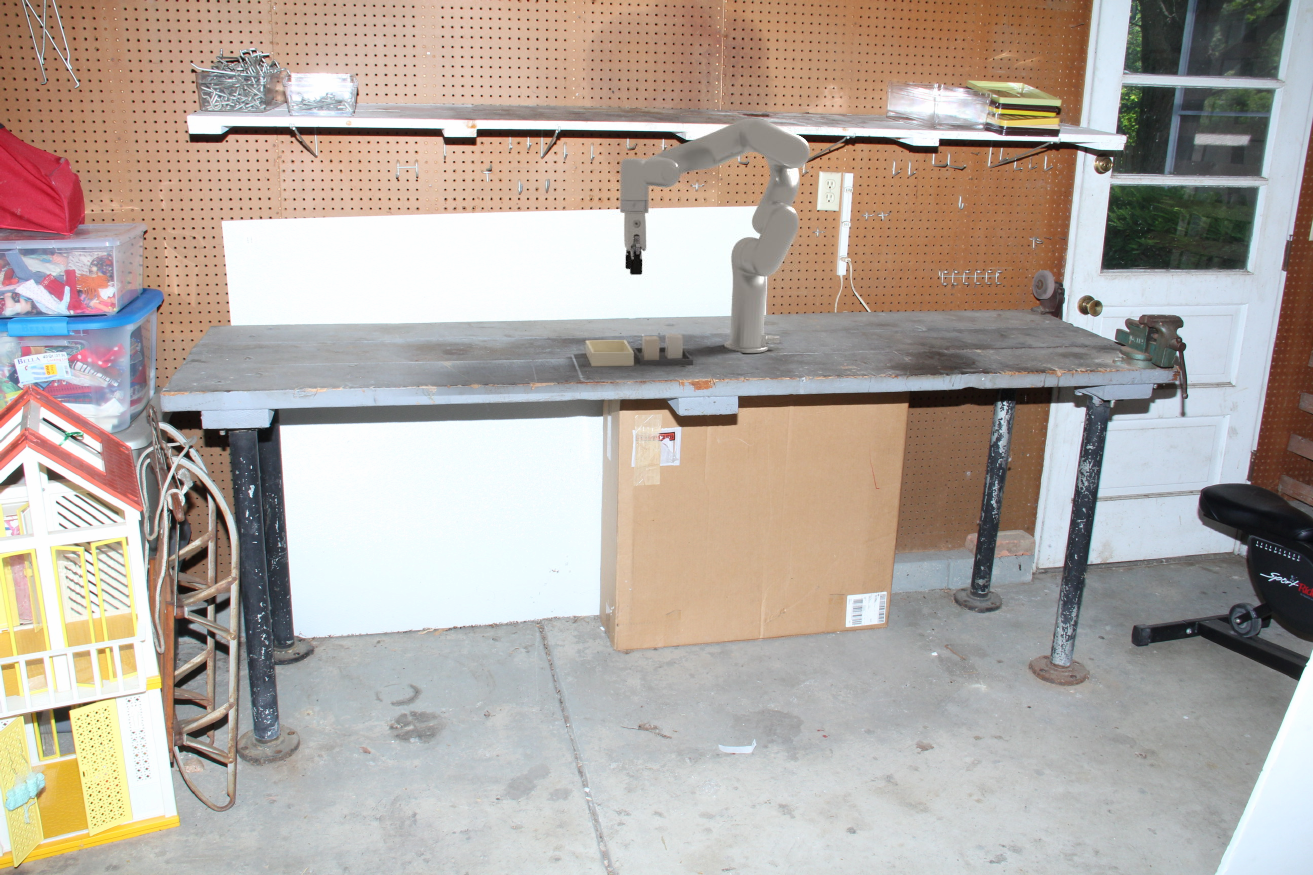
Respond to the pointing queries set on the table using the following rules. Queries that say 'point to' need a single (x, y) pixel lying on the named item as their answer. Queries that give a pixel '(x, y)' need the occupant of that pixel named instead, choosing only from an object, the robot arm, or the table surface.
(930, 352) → the table surface
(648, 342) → the stone
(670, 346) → the stone
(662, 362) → the pan
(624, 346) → the tub
